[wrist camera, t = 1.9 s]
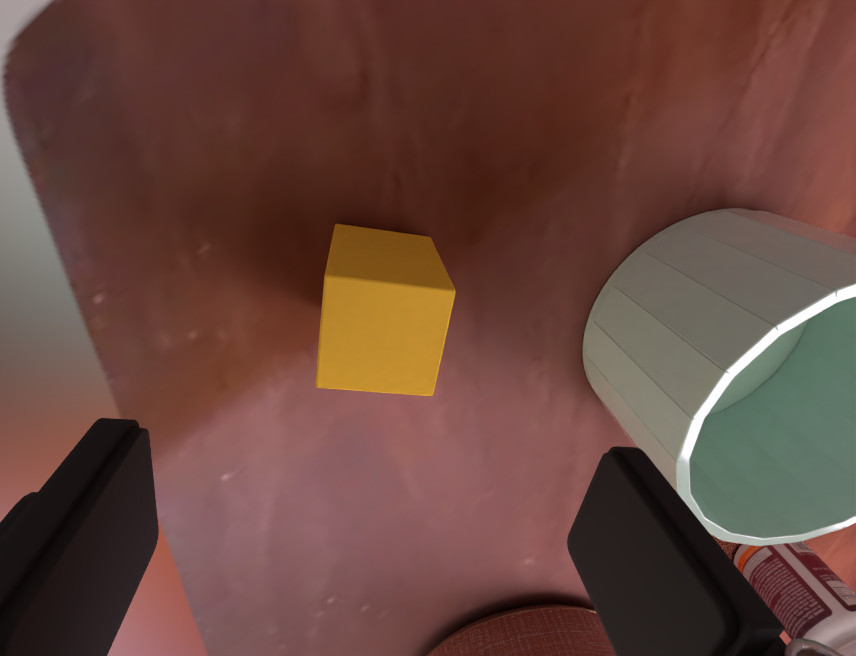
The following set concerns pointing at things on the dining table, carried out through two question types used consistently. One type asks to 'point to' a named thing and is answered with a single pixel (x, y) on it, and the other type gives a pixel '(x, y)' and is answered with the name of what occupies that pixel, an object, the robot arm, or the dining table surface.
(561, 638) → the planter
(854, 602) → the pill bottle
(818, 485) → the mint faceted tub
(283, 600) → the dining table surface
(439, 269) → the yellow block
